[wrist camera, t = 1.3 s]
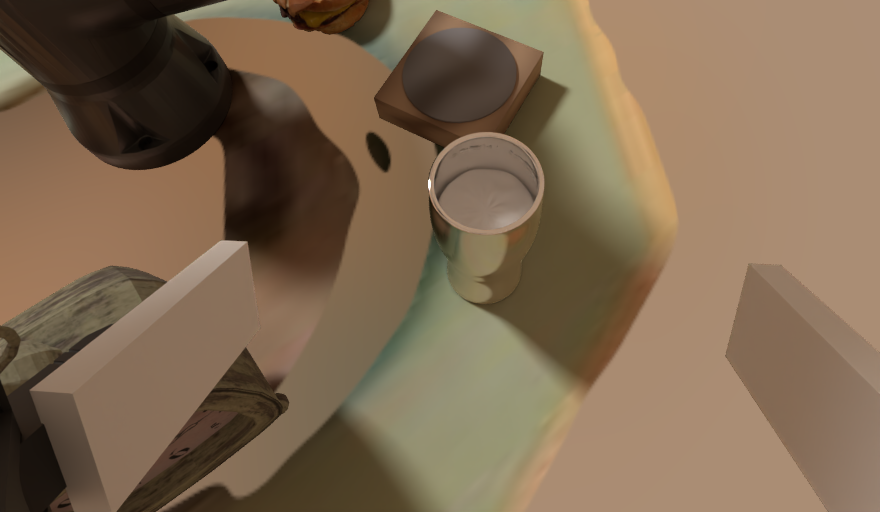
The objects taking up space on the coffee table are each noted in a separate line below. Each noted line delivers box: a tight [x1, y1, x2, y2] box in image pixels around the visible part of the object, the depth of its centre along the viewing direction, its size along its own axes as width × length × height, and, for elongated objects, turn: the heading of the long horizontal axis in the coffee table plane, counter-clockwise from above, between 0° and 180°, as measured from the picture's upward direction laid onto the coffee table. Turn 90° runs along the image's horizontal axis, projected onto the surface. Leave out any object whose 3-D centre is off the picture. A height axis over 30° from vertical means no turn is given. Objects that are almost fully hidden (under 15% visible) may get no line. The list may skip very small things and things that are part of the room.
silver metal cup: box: [428, 132, 544, 304], centre depth 37 cm, size 7×7×15 cm
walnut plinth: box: [374, 10, 544, 148], centre depth 49 cm, size 11×11×3 cm
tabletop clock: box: [0, 266, 289, 512], centre depth 30 cm, size 14×9×25 cm, turn 127°
